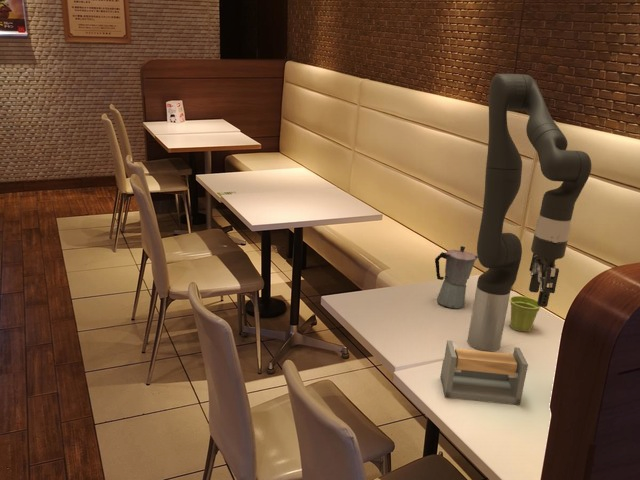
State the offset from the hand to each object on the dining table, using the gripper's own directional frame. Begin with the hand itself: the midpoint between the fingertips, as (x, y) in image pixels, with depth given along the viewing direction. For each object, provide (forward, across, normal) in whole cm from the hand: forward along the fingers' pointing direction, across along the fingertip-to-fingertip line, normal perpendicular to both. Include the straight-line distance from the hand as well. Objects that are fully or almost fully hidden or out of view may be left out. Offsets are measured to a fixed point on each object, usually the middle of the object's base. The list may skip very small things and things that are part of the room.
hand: (537, 298), depth 153 cm
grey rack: (+25, +4, -10) cm, 27 cm away
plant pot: (+25, -37, +8) cm, 46 cm away
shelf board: (+18, +4, -10) cm, 21 cm away
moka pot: (+25, -50, -12) cm, 57 cm away
